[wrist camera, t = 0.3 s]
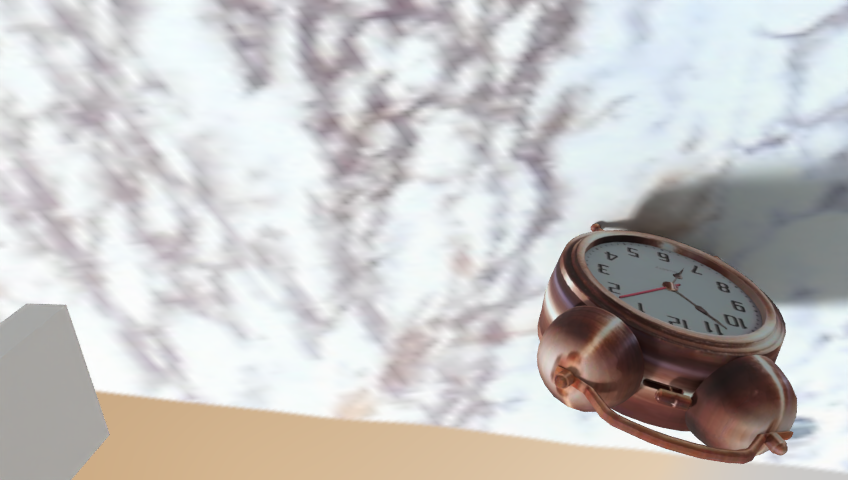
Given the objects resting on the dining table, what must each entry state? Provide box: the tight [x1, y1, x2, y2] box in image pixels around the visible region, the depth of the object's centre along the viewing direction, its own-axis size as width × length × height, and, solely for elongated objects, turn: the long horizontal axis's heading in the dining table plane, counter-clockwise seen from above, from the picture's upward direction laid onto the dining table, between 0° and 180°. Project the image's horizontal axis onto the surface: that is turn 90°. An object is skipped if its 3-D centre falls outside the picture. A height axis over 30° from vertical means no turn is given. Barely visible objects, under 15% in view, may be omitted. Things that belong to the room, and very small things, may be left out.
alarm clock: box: [537, 224, 797, 464], centre depth 33 cm, size 11×5×15 cm, turn 78°
